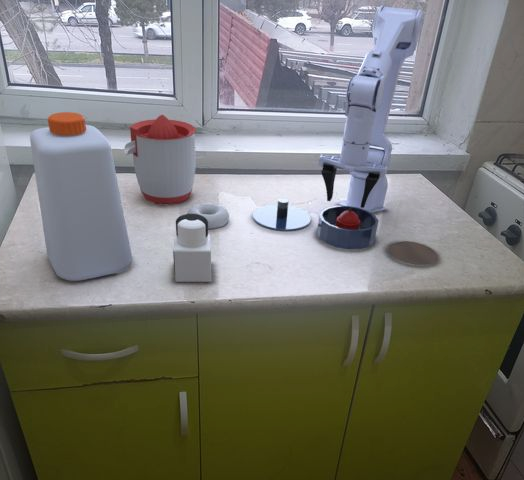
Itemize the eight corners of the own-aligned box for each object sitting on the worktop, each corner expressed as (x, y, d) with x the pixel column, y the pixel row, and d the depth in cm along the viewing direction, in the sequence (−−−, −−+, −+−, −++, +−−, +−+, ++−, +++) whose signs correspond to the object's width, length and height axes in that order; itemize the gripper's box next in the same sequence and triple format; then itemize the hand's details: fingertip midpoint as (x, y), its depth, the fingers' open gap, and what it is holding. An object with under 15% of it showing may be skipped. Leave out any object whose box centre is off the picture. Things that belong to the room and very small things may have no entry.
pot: (350, 221, 128) (353, 202, 125) (385, 244, 119) (390, 224, 116) (305, 231, 122) (308, 211, 119) (340, 256, 113) (343, 235, 110)
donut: (181, 229, 119) (223, 234, 118) (180, 215, 117) (222, 220, 116) (194, 211, 127) (233, 216, 126) (193, 198, 125) (233, 203, 123)
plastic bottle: (44, 252, 107) (11, 108, 89) (116, 239, 113) (98, 102, 95) (61, 287, 97) (26, 133, 79) (138, 271, 103) (123, 125, 85)
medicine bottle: (176, 264, 106) (173, 209, 99) (211, 264, 107) (210, 210, 99) (174, 282, 101) (171, 225, 93) (211, 282, 101) (210, 226, 94)
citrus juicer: (124, 188, 135) (114, 107, 122) (188, 183, 141) (185, 104, 128) (135, 213, 124) (126, 126, 111) (204, 206, 130) (203, 122, 117)
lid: (290, 204, 133) (291, 185, 130) (321, 227, 124) (324, 207, 121) (242, 213, 127) (242, 194, 124) (271, 238, 118) (273, 217, 115)
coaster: (412, 239, 122) (413, 237, 121) (447, 260, 115) (447, 258, 114) (377, 248, 117) (378, 246, 117) (411, 270, 110) (411, 268, 110)
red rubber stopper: (347, 228, 123) (352, 202, 119) (361, 238, 120) (367, 211, 115) (329, 233, 121) (333, 205, 116) (343, 242, 117) (348, 215, 113)
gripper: (318, 139, 105) (310, 203, 114) (388, 151, 102) (374, 215, 111) (326, 131, 111) (318, 192, 119) (393, 142, 107) (380, 204, 116)
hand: (346, 202), depth 115 cm, fingers open, 7 cm apart
